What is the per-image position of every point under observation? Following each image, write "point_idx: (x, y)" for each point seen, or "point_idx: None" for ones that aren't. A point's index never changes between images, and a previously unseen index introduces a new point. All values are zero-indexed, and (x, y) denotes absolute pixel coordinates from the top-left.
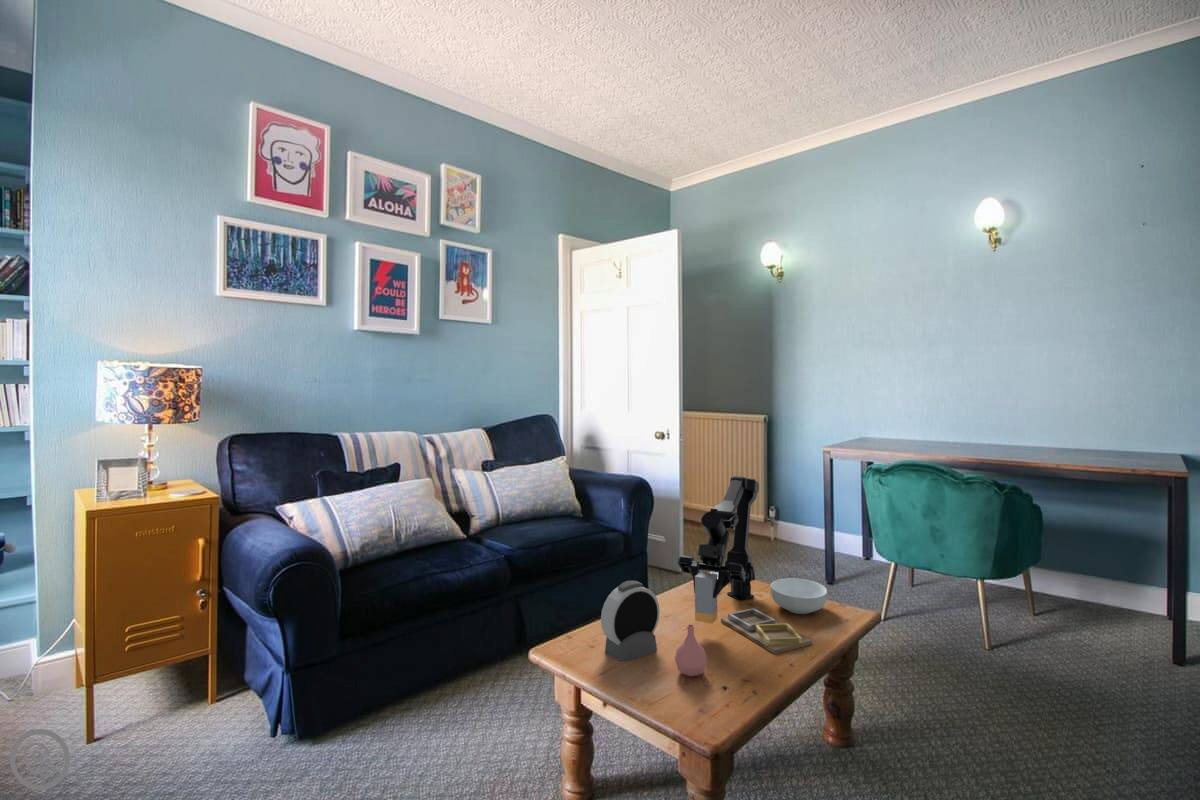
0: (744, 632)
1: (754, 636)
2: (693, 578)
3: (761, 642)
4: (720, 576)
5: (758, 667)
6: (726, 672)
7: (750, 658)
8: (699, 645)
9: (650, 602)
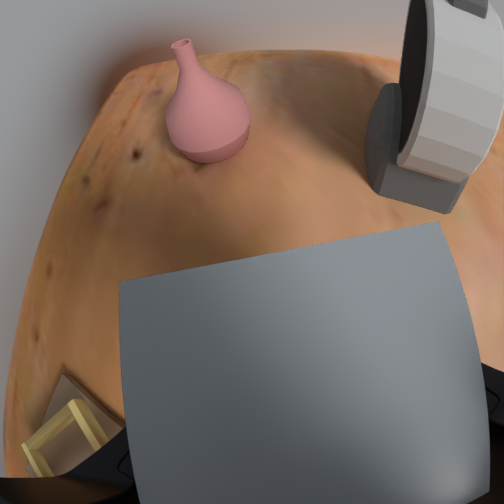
0: None
1: None
2: (493, 370)
3: (100, 410)
4: (82, 490)
5: (86, 276)
6: (146, 204)
7: (111, 312)
8: (174, 101)
9: (422, 61)
